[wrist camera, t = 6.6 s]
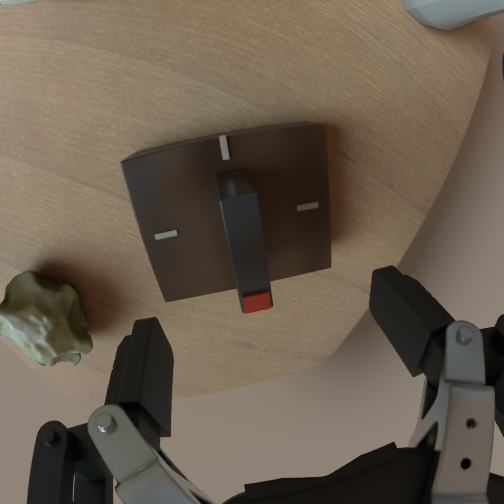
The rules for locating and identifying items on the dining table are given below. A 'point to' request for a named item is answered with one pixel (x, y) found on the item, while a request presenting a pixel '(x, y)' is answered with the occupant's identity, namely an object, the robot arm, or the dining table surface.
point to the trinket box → (17, 2)
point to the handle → (245, 239)
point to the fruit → (44, 319)
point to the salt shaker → (452, 11)
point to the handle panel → (208, 209)
